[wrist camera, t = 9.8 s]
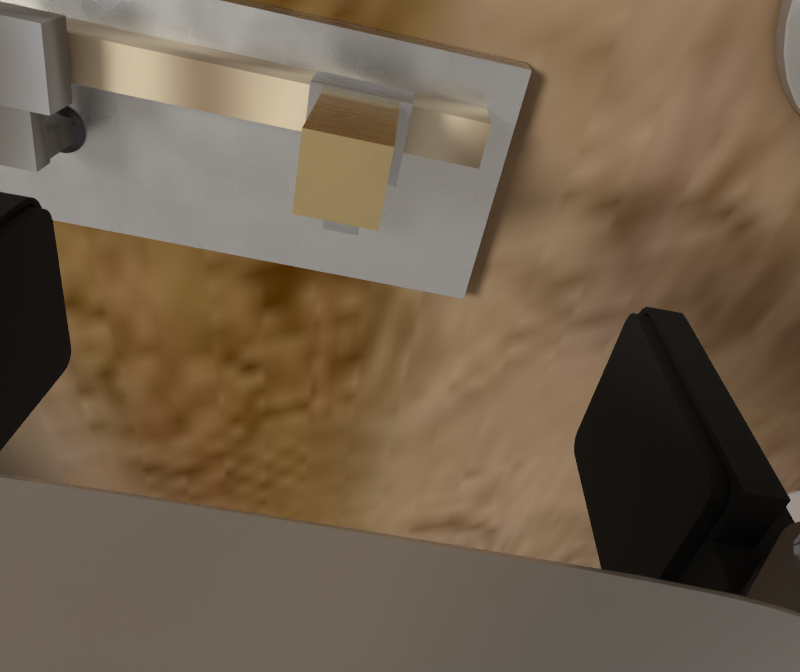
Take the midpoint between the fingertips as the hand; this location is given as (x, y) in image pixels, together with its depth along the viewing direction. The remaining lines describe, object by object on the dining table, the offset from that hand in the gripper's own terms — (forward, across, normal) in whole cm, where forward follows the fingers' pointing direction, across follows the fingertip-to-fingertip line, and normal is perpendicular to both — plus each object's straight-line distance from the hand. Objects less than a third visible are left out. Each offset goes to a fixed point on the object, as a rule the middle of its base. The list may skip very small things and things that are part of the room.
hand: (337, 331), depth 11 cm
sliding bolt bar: (+21, +8, +3) cm, 23 cm away
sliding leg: (+21, +1, +4) cm, 21 cm away
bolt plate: (+23, +9, +5) cm, 25 cm away
